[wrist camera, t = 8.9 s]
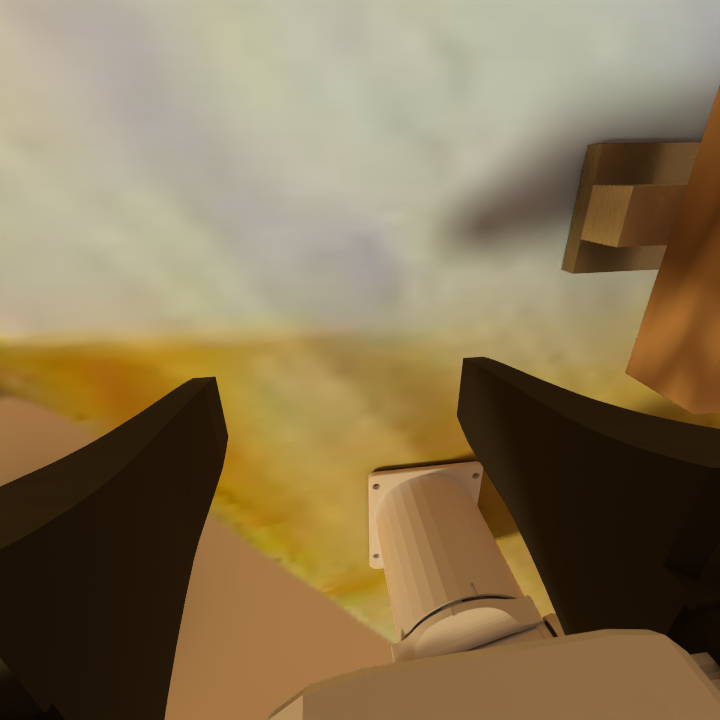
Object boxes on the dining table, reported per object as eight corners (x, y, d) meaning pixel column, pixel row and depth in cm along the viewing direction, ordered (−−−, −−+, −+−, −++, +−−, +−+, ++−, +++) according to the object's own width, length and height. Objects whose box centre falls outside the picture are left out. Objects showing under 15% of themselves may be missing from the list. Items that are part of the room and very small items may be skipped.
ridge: (690, 263, 22) (755, 277, 18) (561, 269, 21) (606, 285, 18) (734, 143, 19) (819, 136, 16) (588, 145, 18) (646, 138, 15)
